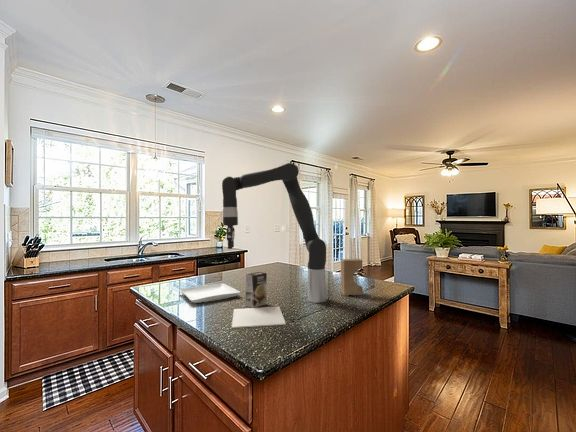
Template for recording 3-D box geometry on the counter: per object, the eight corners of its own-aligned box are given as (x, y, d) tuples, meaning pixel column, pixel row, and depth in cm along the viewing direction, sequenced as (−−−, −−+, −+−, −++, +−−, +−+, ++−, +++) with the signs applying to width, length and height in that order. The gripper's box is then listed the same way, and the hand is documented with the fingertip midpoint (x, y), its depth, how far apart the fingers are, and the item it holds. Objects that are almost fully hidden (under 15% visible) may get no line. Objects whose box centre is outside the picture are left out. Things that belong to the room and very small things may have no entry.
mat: (279, 307, 136) (279, 306, 136) (285, 324, 115) (285, 323, 115) (233, 310, 133) (233, 309, 133) (231, 328, 111) (231, 327, 111)
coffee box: (253, 308, 135) (253, 275, 135) (245, 305, 139) (245, 273, 139) (267, 304, 142) (267, 272, 142) (258, 301, 146) (258, 271, 146)
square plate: (241, 298, 154) (241, 291, 154) (190, 307, 138) (190, 299, 139) (223, 288, 176) (223, 282, 176) (178, 295, 161) (178, 288, 161)
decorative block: (358, 292, 163) (358, 258, 163) (362, 295, 157) (362, 260, 157) (340, 293, 161) (340, 259, 161) (344, 296, 155) (344, 260, 155)
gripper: (236, 215, 135) (237, 249, 134) (238, 216, 149) (239, 246, 149) (221, 216, 134) (221, 249, 134) (224, 216, 148) (225, 246, 148)
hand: (230, 247), depth 141 cm, fingers open, 8 cm apart
